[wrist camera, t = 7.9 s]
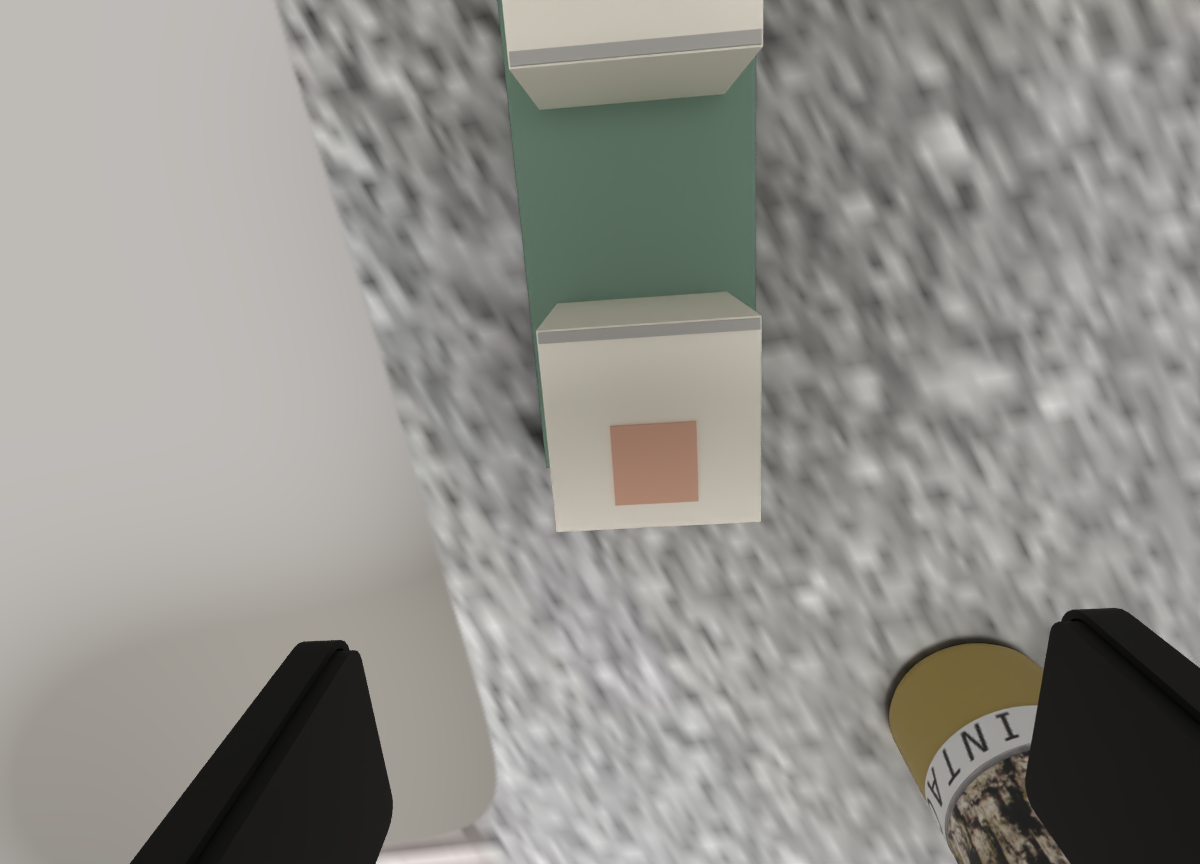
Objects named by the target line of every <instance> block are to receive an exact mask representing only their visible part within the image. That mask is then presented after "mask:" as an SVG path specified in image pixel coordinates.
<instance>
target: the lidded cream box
mask: <svg viewBox="0 0 1200 864" xmlns="http://www.w3.org/2000/svg"><path fill="white" fill-rule="evenodd" d="M502 6H503V16H504V26H505V35H506V45H507V55H508V64H509V70H510V71H511V73H512V74H513V75H514V77H515V78H516V79H517V81H518V82H519V83H520V85H521V86H522V87H523V89H524V90H525V91H526V93H527V94H528V95H529V97H530V98H531V99H532V101H533V102H534V103H535V105H536V106H537V107H538V109H539V110H545V109H557V108H568V107H580V106H592V105H603V104H615V103H627V102H638V101H650V100H662V99H673V98H685V97H696V96H708V95H720V94H725V93H726V92H727V90H728V89H729V88H730V87H731V85H732V84H733V83H734V82H735V81H736V79H737V78H738V77H739V76H740V74H741V73H742V72H743V71H744V69H745V68H746V67H747V66H748V65H749V63H750V62H751V61H752V60H753V58H754V57H755V56H756V55H757V54H758V52H759V51H760V50H761V49H762V47H763V0H502Z"/></svg>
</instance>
